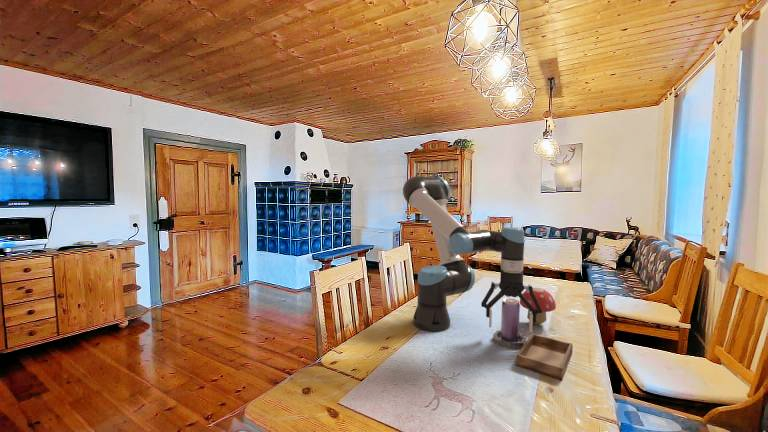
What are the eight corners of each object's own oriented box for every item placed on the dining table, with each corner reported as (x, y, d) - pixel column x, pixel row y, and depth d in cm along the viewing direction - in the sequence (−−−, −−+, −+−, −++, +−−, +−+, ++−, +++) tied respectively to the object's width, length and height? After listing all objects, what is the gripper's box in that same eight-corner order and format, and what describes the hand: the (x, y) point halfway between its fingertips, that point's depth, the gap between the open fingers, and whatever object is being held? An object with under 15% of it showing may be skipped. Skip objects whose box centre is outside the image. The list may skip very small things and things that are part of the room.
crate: (516, 365, 99) (516, 354, 99) (531, 342, 114) (532, 333, 114) (562, 380, 91) (562, 368, 91) (572, 353, 107) (572, 343, 106)
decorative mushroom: (523, 329, 126) (524, 292, 125) (515, 316, 139) (516, 283, 138) (560, 332, 123) (561, 294, 122) (548, 319, 136) (550, 284, 135)
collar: (490, 342, 114) (490, 337, 114) (499, 332, 123) (499, 328, 123) (520, 351, 108) (520, 346, 108) (528, 340, 116) (528, 335, 116)
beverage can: (520, 346, 112) (521, 304, 111) (502, 344, 113) (503, 303, 112) (516, 338, 118) (517, 298, 117) (499, 337, 119) (500, 297, 118)
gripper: (475, 270, 114) (473, 327, 115) (552, 276, 106) (550, 337, 108) (475, 265, 121) (474, 320, 122) (548, 271, 113) (546, 328, 115)
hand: (510, 328), depth 115 cm, fingers open, 13 cm apart
